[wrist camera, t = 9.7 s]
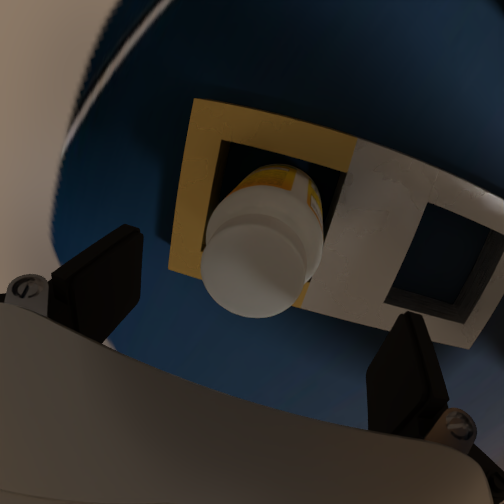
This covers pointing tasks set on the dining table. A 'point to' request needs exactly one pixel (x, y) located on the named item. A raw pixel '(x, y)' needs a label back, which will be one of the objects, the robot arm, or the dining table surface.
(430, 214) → the dining table surface
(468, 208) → the holder
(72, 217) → the dining table surface
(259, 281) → the supplement bottle
